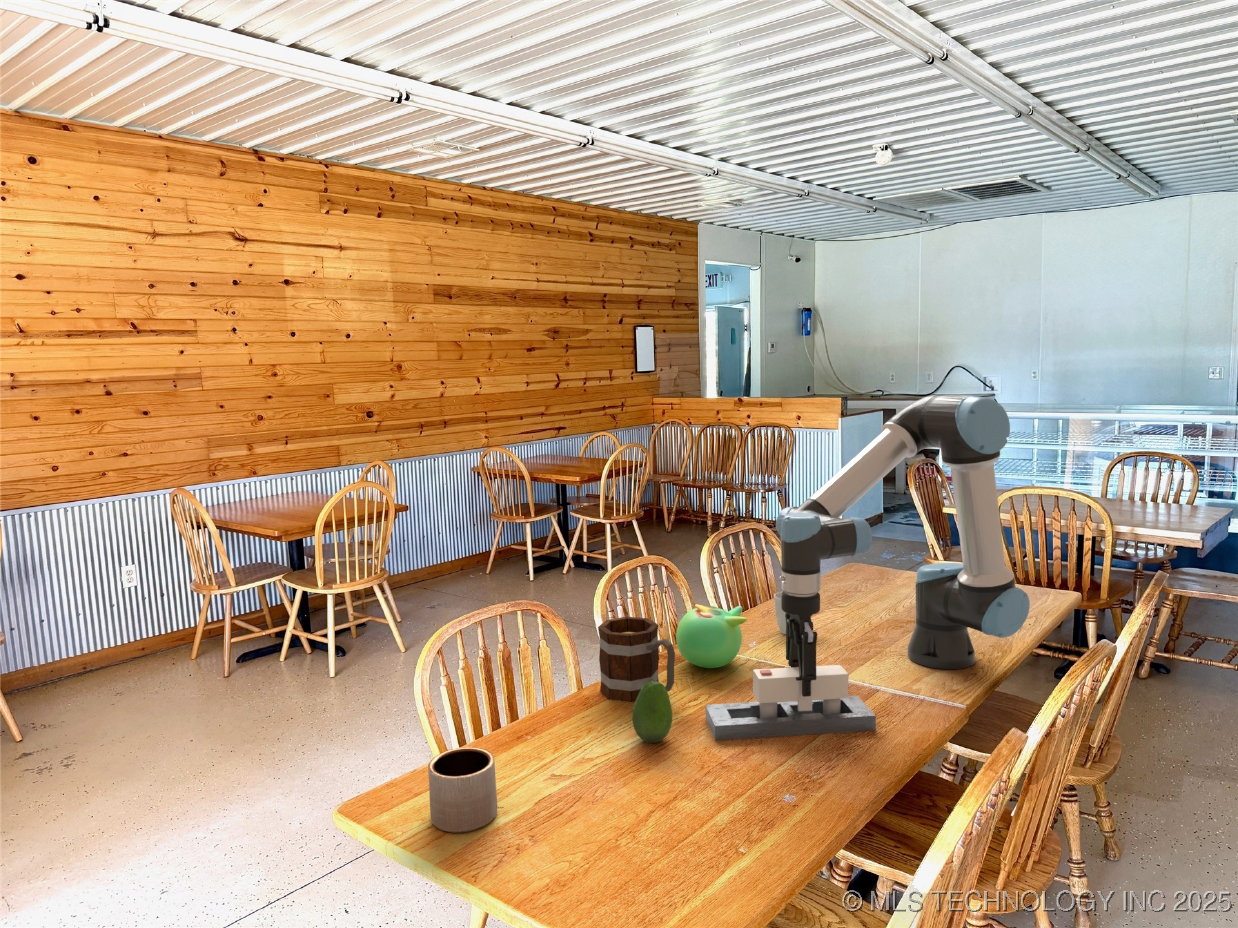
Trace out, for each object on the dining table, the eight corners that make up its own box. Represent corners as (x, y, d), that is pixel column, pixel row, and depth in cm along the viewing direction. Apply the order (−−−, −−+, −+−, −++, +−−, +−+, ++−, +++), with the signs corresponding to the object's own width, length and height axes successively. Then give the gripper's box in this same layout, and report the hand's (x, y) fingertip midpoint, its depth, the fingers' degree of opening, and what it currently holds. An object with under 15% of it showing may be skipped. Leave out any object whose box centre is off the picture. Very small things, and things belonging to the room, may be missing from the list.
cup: (805, 637, 218) (805, 600, 217) (773, 636, 220) (773, 599, 219) (804, 627, 226) (804, 591, 225) (774, 626, 228) (774, 590, 227)
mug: (587, 691, 187) (585, 627, 185) (627, 674, 197) (626, 612, 195) (654, 715, 174) (652, 646, 172) (693, 695, 184) (692, 629, 182)
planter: (435, 801, 142) (432, 748, 141) (499, 797, 143) (496, 744, 142) (426, 837, 131) (422, 780, 130) (495, 832, 132) (492, 775, 131)
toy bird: (675, 651, 211) (674, 595, 209) (742, 650, 210) (741, 594, 208) (678, 678, 193) (676, 617, 191) (751, 677, 192) (750, 616, 191)
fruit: (625, 735, 165) (623, 677, 163) (661, 727, 168) (660, 670, 166) (642, 752, 157) (641, 692, 156) (680, 744, 160) (678, 684, 159)
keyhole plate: (857, 708, 174) (857, 695, 173) (875, 730, 164) (875, 715, 164) (705, 718, 171) (705, 704, 171) (715, 740, 161) (714, 725, 161)
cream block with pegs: (839, 709, 171) (839, 662, 170) (848, 719, 166) (848, 671, 165) (753, 714, 169) (752, 667, 168) (759, 724, 164) (759, 676, 163)
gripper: (770, 580, 173) (770, 687, 176) (795, 605, 155) (795, 724, 158) (805, 578, 174) (805, 685, 176) (834, 603, 156) (833, 722, 159)
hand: (800, 703), depth 167 cm, fingers closed on cream block with pegs, 5 cm apart
